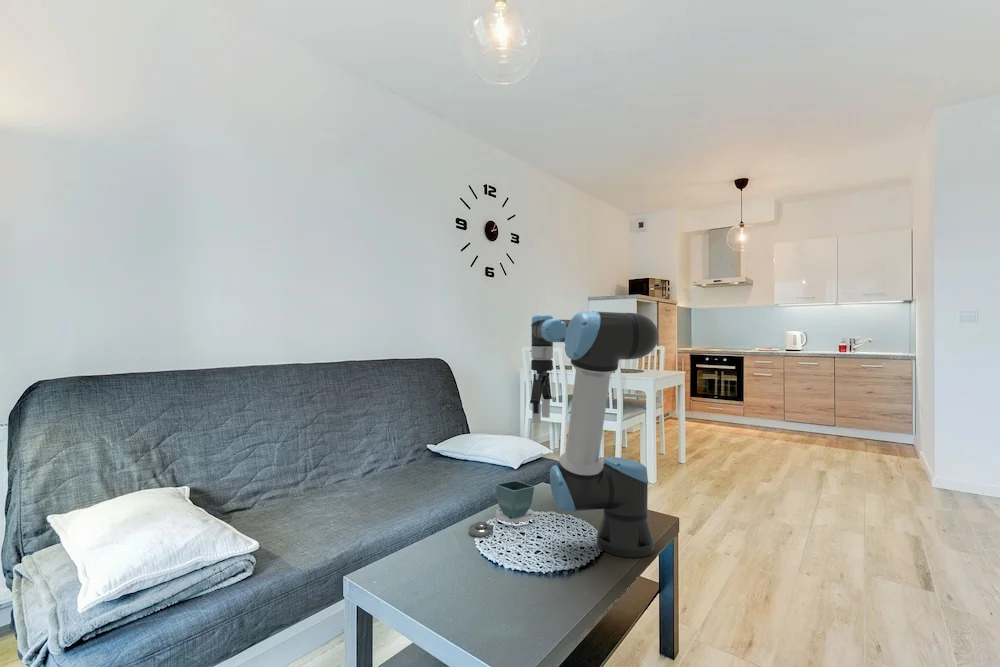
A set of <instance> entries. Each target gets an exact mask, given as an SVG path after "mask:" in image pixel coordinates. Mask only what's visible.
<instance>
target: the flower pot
mask: <svg viewBox="0 0 1000 667" xmlns="http://www.w3.org/2000/svg"><path fill="white" fill-rule="evenodd" d="M495 487H496V488H495V489H496V500H497V504H498V507H499V508H500V509H501V511H502V512H503V514H506V515H508V516H511V517H513V518H515V517H518V516H522V515H525V514H526V513H527V511H528V510H529V509H531V505H532V502H533V497H534V492H535V491H534V490H535V485H531V484H527V483H525V482H521V481H519V480H512V481H510V480H509V481H507V482H506V481H505V482H500V483H497V484H495Z"/></svg>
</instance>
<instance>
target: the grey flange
mask: <svg viewBox="0 0 1000 667" xmlns="http://www.w3.org/2000/svg"><path fill="white" fill-rule="evenodd" d="M533 517H534V518H535V512H534V511H533V509H531V508H529V510H528V511H527V513H526V514H525V515H522V516H518V517H515V518H513V517H511V516H508V515H506V514H503V512H502V511H501V509H500V507H499V508H497V510H496V511H495V519H496V518H498V519H499V520H501V521H505V522H511V523H512V522H513V523H518V522H525V521H528V520H530V519H532V518H533Z"/></svg>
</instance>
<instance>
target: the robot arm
mask: <svg viewBox="0 0 1000 667" xmlns="http://www.w3.org/2000/svg"><path fill="white" fill-rule="evenodd" d="M530 325H531V326H530V327H531V349H530V350H529V352H530V354H531V355H530V356H531V359H532V360H531V361H530V362H531V364H530V369H531V371H534V372H535V371H536V372H535V373H533V375H532V377H533V378H532V380H533V381H532V388H531V397H530V400H529V403H530V404H532V410H531V411H532V414H531V415H532V416H531V417H532V418H531V419H532V420H531V423H532V424H541V423H542V422H541V418H543V419H544V418H548V419H549V418H550V415H551V413H550V412H551V410H550V406H551V400H553V396H552V389H551V380H550V372H549V371H553V369H554V368H553V364H554V362H553V360H552V359H553V358H554V343H564V350H565V352H564V353H565V355H566V357H567V358H569V359H570V364H571V366H572V367H573V368H574V370H575V374H574V382H573V393H572V400H571V406H570V407H571V409H570V415H569V416H570V417H569V424H568V434H567V440H566V441H567V442H566V450H565V452H564V453H562V454H561V455H560V456H559V458H558V459H559V460H558V465H557V464H555V465H553V466H551V467H550V470H549V482H550V483H549V484H550V489H551V494H552V497H553V500H554V503H555V505H556V507H557V508H558V509H559V510H561V511H562V512H578V511H579V512H580V511H593V510H594V511H596V510H597V511H599V510H603V515H602V518H601V522H600V525H599V528H598V530H597V532H596V544H597V546H598V545H599V546H598V548H600V549H601V550H602V551H604V552H607V553H608V554H611V555H614V556H617V557H618V556H619V557H624V558H644V557H647V556H650V555H652V554H653V553H654V552H655V539H654V536H653V534H652V531H651V526H650V524H649V520H648V491H649V490H648V488H649V487H648V485H649V478H648V469H647V467H646V466H645V465H644V464H642V463H640V462H638V461H637V460H636V461H635V460H632V459H628V458H623V457H615V456H608V457H607V456H606V457H605V458H604V459H603V461H602V459H600V451H601V444H602V437H603V431H604V424H605V422H604V421H605V417H606V410H607V408H606V407H607V404H608V403H607V401H608V396H609V395H608V394H609V388H610V380H611V375H612V374H614V373H615V372H616V371H618V369H619V362H620V361H621V360H622V361H623V360H637V359H641V358H644V357H646V356H648V355H649V354H650V353H652V352H653V351H654V349H655V348H656V347H657V344H658V341H659V330H658V328H657V326H656V324H655V323H654V322H653V321H652V319H651V318H650V317H647V316H646V315H643V314H640V313H636V312H635V313H634V312H612V311H611V312H610V311H595V310H592V311H580V312H578V313H576V314H575V315H573V316H572V317H571V319H560V318H554V317H553V316H552V315H549V314H535V315H533V316H532V318H531V324H530Z"/></svg>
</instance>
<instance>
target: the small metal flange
mask: <svg viewBox="0 0 1000 667" xmlns="http://www.w3.org/2000/svg"><path fill="white" fill-rule="evenodd" d="M492 533H493V534H494V526H493V525H491V524H489V523H488V522H484V521H477V522H475V523H473V524H471V525H469V527H468V535H469V536H471V537H473V538H476V537H486V536H489V535H491V534H492ZM491 536H492V535H491ZM489 537H490V536H489ZM486 538H487V537H486Z"/></svg>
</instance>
